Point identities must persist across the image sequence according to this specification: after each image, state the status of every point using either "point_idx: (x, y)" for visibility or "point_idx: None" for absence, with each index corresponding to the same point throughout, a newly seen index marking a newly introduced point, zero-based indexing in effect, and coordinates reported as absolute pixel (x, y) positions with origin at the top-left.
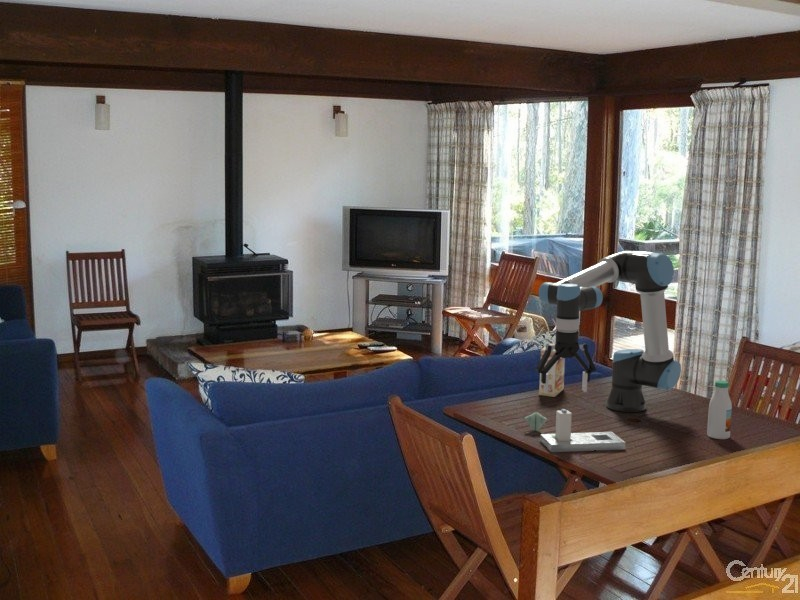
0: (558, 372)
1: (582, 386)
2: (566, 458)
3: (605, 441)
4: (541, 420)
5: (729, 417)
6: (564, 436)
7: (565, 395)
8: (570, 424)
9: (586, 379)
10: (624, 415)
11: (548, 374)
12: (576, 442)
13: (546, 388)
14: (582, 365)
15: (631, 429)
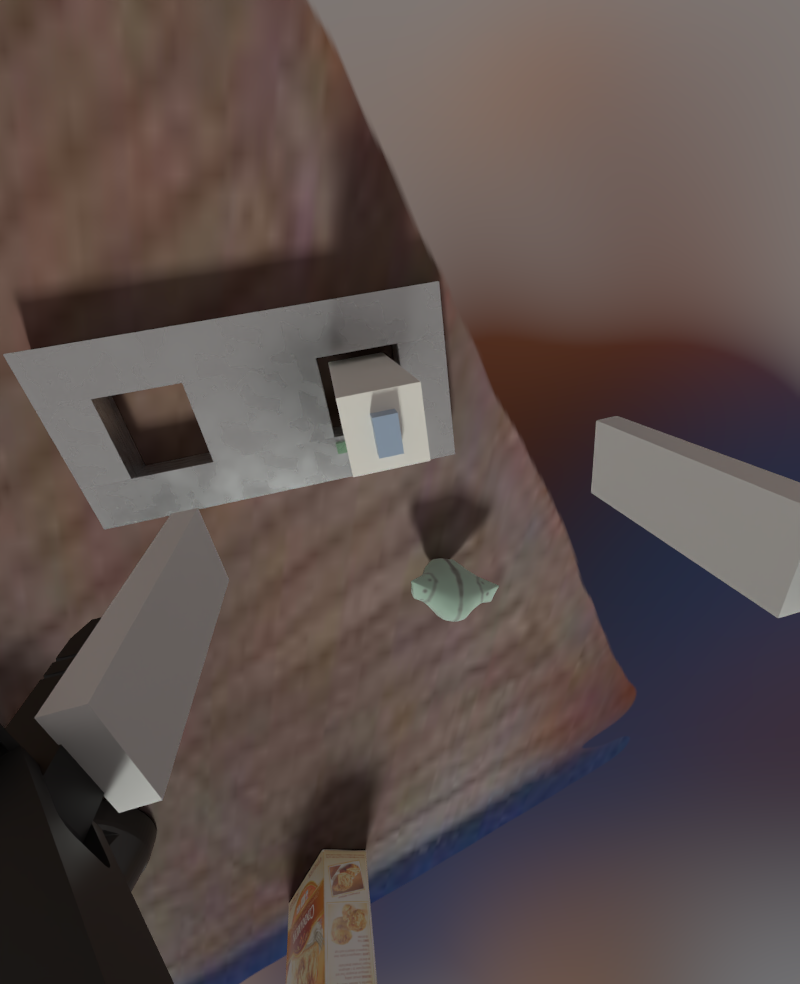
0: (310, 962)
1: (216, 599)
2: (368, 170)
3: (132, 361)
4: (433, 577)
5: None
6: (363, 364)
7: (288, 867)
8: (336, 382)
9: (117, 613)
10: None
11: (346, 940)
12: (300, 333)
13: (655, 431)
14: (73, 944)
15: (32, 639)
